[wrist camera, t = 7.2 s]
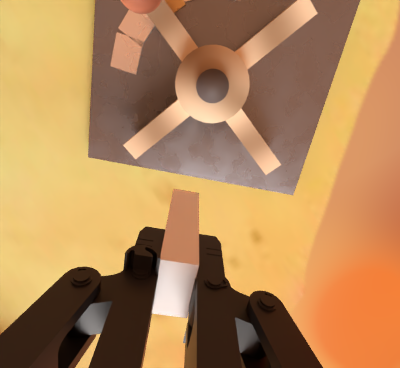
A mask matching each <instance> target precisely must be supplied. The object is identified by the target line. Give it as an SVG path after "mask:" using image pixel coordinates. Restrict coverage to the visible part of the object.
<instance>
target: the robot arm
mask: <svg viewBox="0 0 400 368" xmlns="http://www.w3.org/2000/svg"><path fill="white" fill-rule="evenodd" d="M188 312H189V315H188ZM152 313H153V314H160V315H168V316H176V317H183V318H187V317H188V323H187V328H186V332H185V336H184V341H183V343H185V363H184V368H323V367H322V365H321V364H320V362H319V361H318V359H317V357H316V356H315V354H314V353H313V351H312V350H311V348H310V347H309V345H308V343H307V342H306V340H305V338H304V337H303V335H302V334H301V332H300V331H299V329H298V327H297V326H296V324H295V323H294V321H293V319H292V318H291V316H290V315H289V313H288V311H287V310H286V308H285V307H284V305H283V303H282V302H281V301H280V300H279V299H278V298H277V297H276V296H274V295H273V294H271V293H269V292H266V291H255V292H253V293H252V294H251V295H250V297H249V296H247V295H244V294H242V293H239V292H237V291H235V290H234V289H233V288H231V287H230V283H229V281H228V280H227V279H226V278H225V273H224V265H223V258H222V251H221V243H220V242H219V240H218V239H217V238H216V237H215V236H208V235H202V234H199V193H196V192H190V191H184V190H177V189H173V194H172V199H171V204H170V210H169V215H168V220H167V225H166V230H165V229H158V228H152V227H145V228H144V229H143V230H141V231H140V233H139V236H138V239H137V241H136V245H135V246H133V247H131V248H129V249H128V250H127V251H126V253H125V260H124V270H123V271H122V272H120V273H118V274H115V275H110V276H101V275H100V273H99V272H98V271H97V270H95V269H93V268H90V267H77V268H74V269H71V270H70V271H68V272H67V273H65V274H64V275H63V276H62V277H61V278H60V279H59V280H58V281H57V282H56V283H55V284H53V285H52V286H51V287H50V288H49V289H48V290H47V291H46V292H45V293H44V294H43V295H42V296H41V297H40V298H39V299H38V300H37V301H36V302H34V303H33V304H32V305H31V306H30V307H29V308H28V309H27V310H26V311H25V312H24V313H23V314H22V315H21V316H20V317H19V318H18V319H17V320H15V321H14V322H13V323H12V324H11V325H10V326H9V327H8V328H7V329H6V330H5V331H4V332H3V333H2V334H1V335H0V368H75V367H76V365H77V364H78V362H79V361H80V359H81V358H82V356H83V355H84V353H85V352H86V350H87V349H88V347H89V346H90V344H91V343H92V342H93V340H94V339H95V337H96V334H100V333H101V335H100V338H99V340H98V343H97V346H96V349H95V351H94V354H93V357H92V360H91V363H90V365H89V368H142V366H143V361H144V355H145V349H146V344H147V338H148V333H149V327H150V322H151V315H152Z"/></svg>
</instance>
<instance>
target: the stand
mask: <svg viewBox="0 0 400 368" xmlns="http://www.w3.org/2000/svg"><path fill="white" fill-rule="evenodd" d="M295 1H297V0H165V2H166V3H167V4H168V6H169V7H170V9H171V10H172V11H173V13H174V14H175V16H176V17H177V18H178V20H179V21H180V23H181V24H182V25H183V27H184V28H185V30H186V31H187V33H188V34H189V35H190V37H191V38H192V40H193V41H194V42H195V44H196V45H197V47H198V48H199V47H202V46H205V45H221V46H224V47H227V48H229V49H231V50H232V51H234V52H235V51H236V50H237V49H238V48H240V47H241V46H242V45H243V44H244V43H246V42H247V41H248V40H249V39H250V38H252V37H253V36H254V35H255V34H256V33H258V32H259V31H260V30H261V29H263V28H264V27H265V26H266V25H267V24H269V23H270V22H271V21H272V20H273V19H275V18H276V17H277V16H278V15H279V14H281V13H282V12H283V11H284V10H285V9H287V8H288V7H289V6H290V5H291V4H293V3H294V2H295ZM311 2H312V4H313V6H314V8H315V10H316V11H317V13H318V14H316V15H315V16H314V17H313V18H311V19H310V20H309V21H308V22H306V23H305V24H304V25H303V26H301V27H300V28H299V29H298V30H296V31H295V32H294V33H293V34H291V35H290V36H289V37H288V38H286V39H285V40H284V41H283V42H281V43H280V44H279V45H278V46H276V47H275V48H274V49H273V50H271V51H270V52H269V53H268V54H266V55H265V56H264V57H263V58H261V59H260V60H259V61H258V62H256V63H255V64H254V65H253V66H251V67H250V68H249V69H248V74H249V81H250V86H249V92H248V96H247V99H246V101H245V103H244V105H243V106H242V108H241V109H242V110H243V111H244V113H245V114H246V116H247V117H248V119H249V120H250V121H251V123H252V124H253V126H254V127H255V128H256V130H257V131H258V133H259V134H260V135H261V137H262V138H263V140H264V141H265V142H266V144H267V145H268V147H269V148H270V150H271V151H272V152H273V154H274V155H275V157H276V158H277V159H278V161H279V162H280V164H281V165H280V166H279V167H277V168H276V169H274V170H273V171H271V172H270V173H268V174H267V175H265V173H264V172H263V171H262V169H261V168H260V167H259V165H258V164H257V163H256V161H255V160H254V158H253V157H252V156H251V154H250V153H249V152H248V150H247V149H246V148H245V146H244V145H243V144H242V142H241V141H240V140H239V138H238V137H237V136H236V134H235V133H234V131H233V130H232V129H231V127H230V126H229V125H228V123H227V122H226V121H223V122H219V123H205V122H201V121H198V120H196V119H194V118H193V117H191V116H189V117H188V118H187V119H185V120H184V121H183V122H182V123H180V124H179V125H178V126H177V127H175V128H174V129H173V130H172V131H170V132H169V133H168V134H167V135H165V136H164V137H163V138H162V139H160V140H159V141H158V142H157V143H155V144H154V145H153V146H152V147H150V148H149V149H148V150H147V151H145V152H144V153H143V154H142V155H141V156H139V157H138V158H137V159H135V158H134V157H133V156H132V155H131V154H130V153H129V151H128V150H127V149H126V148H125V147H124V146H123V145H124V144H125V143H126V142H127V141H128V140H129V139H130V138H132V137H133V136H134V135H135V134H136V133H137V132H139V131H140V130H141V129H142V128H143V127H145V126H146V125H147V124H148V123H149V122H151V121H152V120H153V119H154V118H155V117H157V116H158V115H159V114H160V113H161V112H163V111H164V110H165V109H166V108H168V107H169V106H170V105H171V104H172V103H174V102H175V101H176V100H177V99H178V98H177V95H176V89H175V80H176V74H177V71H178V68H179V66H180V64H181V63H182V61H181V60H180V58H179V57H178V56H177V54H176V53H175V52H174V50H173V49H172V48H171V46H170V45H169V44H168V42H167V41H166V40H165V38H164V37H163V36H162V34H161V33H160V31H159V30H158V29H157V27H156V26H155V25H154V23H153V22H152V21H151V19H150V18H149V17H148V15H147V14H138V13H135V12H132V11H131V10H129V9H128V8H127V7H125V5H124V4H123V3H122V2H121V0H95V21H94V43H93V65H92V86H91V108H90V129H89V151H88V157H90V158H95V159H101V160H106V161H112V162H117V163H122V164H128V165H133V166H139V167H144V168H149V169H155V170H160V171H166V172H171V173H176V174H182V175H187V176H193V177H198V178H203V179H209V180H214V181H220V182H225V183H230V184H236V185H241V186H247V187H252V188H257V189H263V190H268V191H274V192H279V193H284V194H290V195H293V194H294V191H295V188H296V185H297V182H298V180H299V177H300V174H301V171H302V168H303V165H304V162H305V159H306V156H307V153H308V150H309V148H310V145H311V142H312V139H313V136H314V133H315V130H316V127H317V124H318V121H319V118H320V116H321V113H322V110H323V107H324V104H325V101H326V98H327V95H328V92H329V89H330V86H331V84H332V81H333V78H334V75H335V72H336V69H337V66H338V63H339V60H340V57H341V54H342V52H343V49H344V46H345V43H346V40H347V37H348V34H349V31H350V28H351V25H352V22H353V20H354V17H355V14H356V11H357V8H358V5H359V2H360V0H311Z"/></svg>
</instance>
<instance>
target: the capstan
mask: <svg viewBox="0 0 400 368" xmlns="http://www.w3.org/2000/svg"><path fill="white" fill-rule="evenodd" d="M121 2H122V3H123V4H124V5H125V7H127V8H128V9H129V10H131V11H132V12H135V13H138V14H147V15H148V17H149V18H150V19H151V21H152V22H153V23H154V25H155V26H156V27H157V29H158V30H159V31H160V33H161V34H162V36H163V37H164V38H165V40H166V41H167V42H168V44H169V45H170V46H171V48H172V49H173V50H174V52H175V53H176V54H177V56H178V57H179V58H180V60H181V61H182V63H181V64H180V66H179V68H178V71H177V74H176V80H175V89H176V95H177V98H178V99H177V100H176V101H175V102H174V103H172V104H171V105H170V106H169V107H168V108H166V109H165V110H164V111H163V112H161V113H160V114H159V115H158V116H157V117H155V118H154V119H153V120H152V121H151V122H149V123H148V124H147V125H146V126H145V127H143V128H142V129H141V130H140V131H139V132H137V133H136V134H135V135H134V136H133V137H132V138H130V139H129V140H128V141H127V142H126V143H125V144H124V145H123V146H124V147H125V148H126V149H127V150H128V151H129V153H130V154H131V155H132V156H133V157H134V158H135V159H137V158H138V157H139V156H141V155H142V154H143V153H144V152H145V151H147V150H148V149H149V148H150V147H152V146H153V145H154V144H155V143H157V142H158V141H159V140H160V139H162V138H163V137H164V136H165V135H167V134H168V133H169V132H170V131H172V130H173V129H174V128H175V127H177V126H178V125H179V124H180V123H182V122H183V121H184V120H185V119H187V118H188V117H189V116H191V117H193V118H194V119H196V120H198V121H201V122H205V123H219V122H223V121H226V122H227V123H228V125H229V126H230V127H231V129H232V130H233V131H234V133H235V134H236V136H237V137H238V138H239V140H240V141H241V142H242V144H243V145H244V146H245V148H246V149H247V150H248V152H249V153H250V154H251V156H252V157H253V158H254V160H255V161H256V163H257V164H258V165H259V167H260V168H261V169H262V171H263V172H264V173H265V175H267V174H268V173H270V172H271V171H273V170H274V169H276V168H277V167H279V166H280V165H281V164H280V162H279V161H278V159H277V158H276V157H275V155H274V154H273V152H272V151H271V150H270V148H269V147H268V145H267V144H266V142H265V141H264V140H263V138H262V137H261V135H260V134H259V133H258V131H257V130H256V128H255V127H254V126H253V124H252V123H251V121H250V120H249V119H248V117H247V116H246V114H245V113H244V111H243V110H242V109H241V108H242V106H243V105H244V103H245V101H246V99H247V96H248V92H249V86H250V81H249V74H248V69H249V68H250V67H251V66H253V65H254V64H255V63H256V62H258V61H259V60H260V59H261V58H263V57H264V56H265V55H266V54H268V53H269V52H270V51H271V50H273V49H274V48H275V47H276V46H278V45H279V44H280V43H281V42H283V41H284V40H285V39H286V38H288V37H289V36H290V35H291V34H293V33H294V32H295V31H296V30H298V29H299V28H300V27H301V26H303V25H304V24H305V23H306V22H308V21H309V20H310V19H311V18H313V17H314V16H315V15H316V14H318V13H317V11H316V10H315V8H314V6H313V4H312V2H311V0H297V1H295V2H294V3H293V4H291V5H290V6H289V7H288V8H287V9H285V10H284V11H283V12H282V13H281V14H279V15H278V16H277V17H276V18H275V19H273V20H272V21H271V22H270V23H269V24H267V25H266V26H265V27H264V28H263V29H261V30H260V31H259V32H258V33H256V34H255V35H254V36H253V37H252V38H250V39H249V40H248V41H247V42H246V43H244V44H243V45H242V46H241V47H240V48H238V49H237V50H236V51H235V52H234V51H232V50H231V49H229V48H227V47H224V46H221V45H205V46H202V47H199V48H198V47H197V45H196V44H195V42H194V41H193V40H192V38H191V37H190V35H189V34H188V33H187V31H186V30H185V28H184V27H183V25H182V24H181V23H180V21H179V20H178V18H177V17H176V16H175V14H174V13H173V11H172V10H171V9H170V7H169V6H168V4H167V3H166V2H165V0H121Z"/></svg>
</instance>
